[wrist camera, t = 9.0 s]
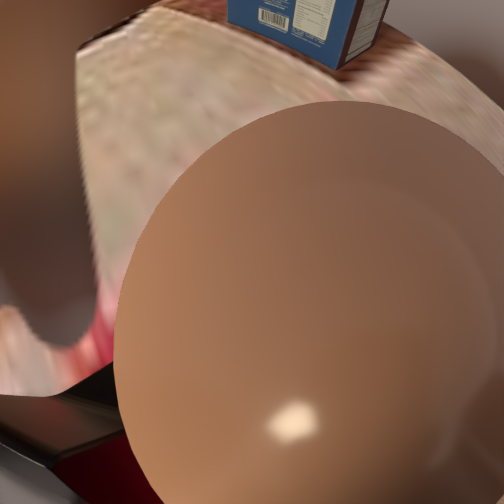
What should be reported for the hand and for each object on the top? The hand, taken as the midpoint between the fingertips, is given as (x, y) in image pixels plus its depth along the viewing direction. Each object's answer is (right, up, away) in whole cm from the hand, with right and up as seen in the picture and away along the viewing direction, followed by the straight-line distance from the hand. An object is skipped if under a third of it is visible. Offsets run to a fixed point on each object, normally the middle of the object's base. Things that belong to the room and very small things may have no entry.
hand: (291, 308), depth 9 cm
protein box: (+5, +28, +19) cm, 35 cm away
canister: (0, -3, +6) cm, 7 cm away
